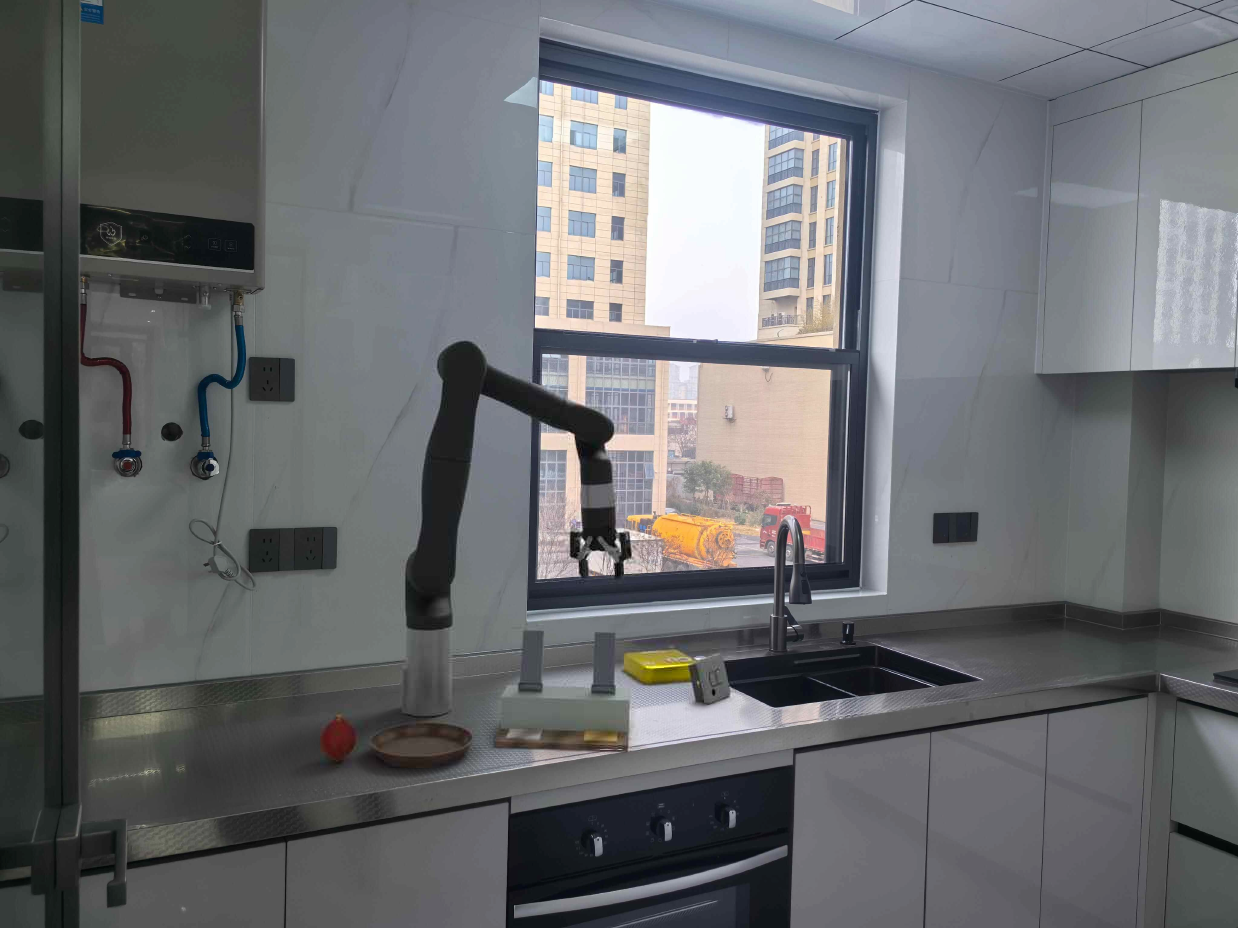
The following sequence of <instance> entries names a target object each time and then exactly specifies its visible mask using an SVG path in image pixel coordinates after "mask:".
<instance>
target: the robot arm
mask: <svg viewBox="0 0 1238 928" xmlns="http://www.w3.org/2000/svg"><path fill="white" fill-rule="evenodd" d="M436 370H437V374H438V375H439V377H440V379H441V380H442V386H441V394H440V396H441V397H440V398H441V399H440V403H439V404H440V405H439V409H438V412H437V415H436V418H435V420H434V425H433V427H432V430H431V432H430V434H429V435H430V436H429V439H428V442H427V446H426V450H425V455H424V456H425V457H424V461H423V467H422V473H421V474H422V475H421V490H420V493H421V499H420V500H421V525H420V530H419V536H418V540H417V544H416V549H415V550H414V551H412V552H411V553H410V555H409V556H408V558H407V561H406V563H405V571H404V579H405V580H404V583H405V584H404V595H405V596H404V600H405V601H404V609H405V622H406V623H405V626H406V627H405V664H404V665H402V672H401V673H402V680H401V681H402V682H401V684H402V685H401V686H402V687H401V714H405V715H406V714H407V715H409V716H414V717H435V716H441V715H444V714H448V713H449V712H450V711H452V699H453V698H452V689H453V688H452V687H453V683H452V682H453V681H452V680H453V678H452V677H453V676H452V675H453V623H454V621H453V619H454V617H453V616H454V615H453V613H454V612H453V609H452V599H451V598H452V595H451V594H452V593H451V590H452V589H451V585H452V584H453V582H454V579H455V577H456V573H457V572H456V569H457V546H458V532H459V531H458V530H459V525H460V522H461V521H460V520H461V516H462V512H463V508H464V503H465V499H466V492H467V490H468V489H467V487H468V484H469V477H470V472H471V465H472V464H471V463H472V458H473V456H472V455H473V447H474V439H475V427H476V426H475V425H476V415H477V408H478V405H479V400H480V398H481V397H480V396H481V395H482V396H485V397H487V398H490V399H492V400H495V401H497V402H500V403H502V404H504V405H505V406H509V407H510V408H512V409H514V410H516V411H518V412H520V413H522V414H524V415H526V416H527V417H530V418H532V419H534V420H536V421H538V422H540V423H543V424H544V425H547V426H549V427H551V428H553V429H556V430H560V431H565V432H568V433H570V434H572V435H573V436H574V443H575V449H576V453H577V457H578V458H577V459H578V461H579V475H580V478H579V479H580V491H579V492H580V493H579V494H580V496H579V498H580V518H581V520H580V521H581V526H582V530H581V531H580V530H579V529H577V530H572V531H570V532H569V556H570V558H571V559H576V560H577V563H578V574H579V576H580V578H581V579H587V578H588V577H589V576H590V575H589V560H588V557H589V556H590V554H591V553H592V552H597V551H598V552H602V553H603V552H606V553H607V555H609V556H610V557H611V558H612V560H613V561H614V562H613V569H614V579H615V581H620V580H622V579H623V577H624V576H625V566H624V565H625V561H626V560H629V559H632V558H633V553H632V545H631V536H630V535H631V534H630V531H629V530H626V531H625V530H624V531H619V532H618V531H617V528H616V526H617V525H616V524H617V517H616V516H617V514H616V498H615V497H616V494H615V489H614V483H613V481H614V479H613V464H612V461H611V459H610V458H609V457H608V455H607V449H606V445H605V444H607V443H609V442H610V441H611V440H612V439H613V437H614V435H615V425H614V423H613V421H612V419H611V417H609V416H608V414H605V413H603V412H601V411H600V410H597V409H595V408H592V407H589V406H587V405H585V404H581V403H578V402H576V401H573V400H571V399H569V398H568V397H566V396H564V395H562V394H559V393H557V392H556V391H554V390H551V388H548V387H545V386H543V385H540V384H537V383H534V382H531V381H529V380H526V379H524V378H523V379H522V378H520V377H517V376H515V375H512V374H510V373H507V372H505V371H503V370H502V369H499V368H497V367H495V366H493V365H492V364H490V363H489V362H488V360H487V357H486V353H485V352H484V350H483V349H482V348H481V346H480V345H478V344H477V343H476V342H473V341H470V340H460V341H456V342H453V343H452V344H449V346H447V347H445V348H444V349H443V350H442V351H441V352H440V353H439V356H438V357H437V360H436ZM581 540H583V541H584V544H583V545H582V547H581ZM616 541H618V543H619V544H620V545H619V546H620V547H619V546H618V544H617V542H616Z"/></svg>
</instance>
